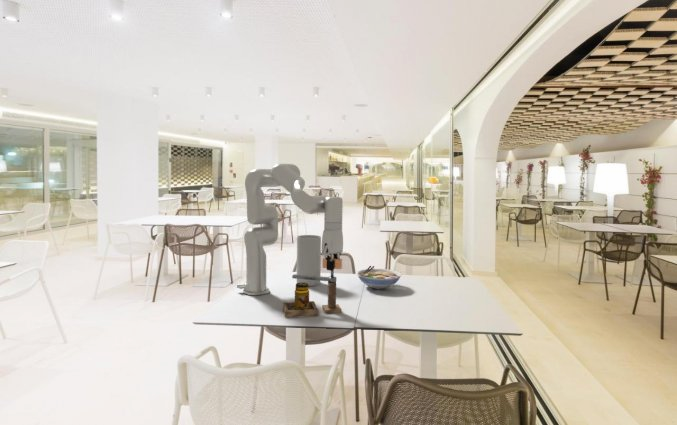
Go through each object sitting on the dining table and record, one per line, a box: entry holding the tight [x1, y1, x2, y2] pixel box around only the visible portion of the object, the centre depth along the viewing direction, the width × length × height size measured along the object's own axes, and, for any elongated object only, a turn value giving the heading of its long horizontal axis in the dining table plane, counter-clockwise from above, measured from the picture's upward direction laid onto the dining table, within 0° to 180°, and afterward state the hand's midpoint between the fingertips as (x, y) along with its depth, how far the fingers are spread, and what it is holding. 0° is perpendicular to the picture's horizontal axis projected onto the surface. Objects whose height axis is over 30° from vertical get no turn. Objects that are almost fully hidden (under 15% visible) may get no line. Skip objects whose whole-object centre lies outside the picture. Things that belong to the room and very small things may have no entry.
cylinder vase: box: [296, 234, 322, 287], centre depth 227 cm, size 12×12×25 cm
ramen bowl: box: [356, 265, 402, 290], centre depth 223 cm, size 25×23×8 cm
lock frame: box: [282, 281, 342, 318], centre depth 182 cm, size 24×12×12 cm, turn 101°
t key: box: [291, 257, 343, 283], centre depth 184 cm, size 22×4×10 cm, turn 75°
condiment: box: [290, 282, 310, 310], centre depth 181 cm, size 7×8×12 cm
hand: (332, 269), depth 182 cm, fingers closed on t key, 3 cm apart
